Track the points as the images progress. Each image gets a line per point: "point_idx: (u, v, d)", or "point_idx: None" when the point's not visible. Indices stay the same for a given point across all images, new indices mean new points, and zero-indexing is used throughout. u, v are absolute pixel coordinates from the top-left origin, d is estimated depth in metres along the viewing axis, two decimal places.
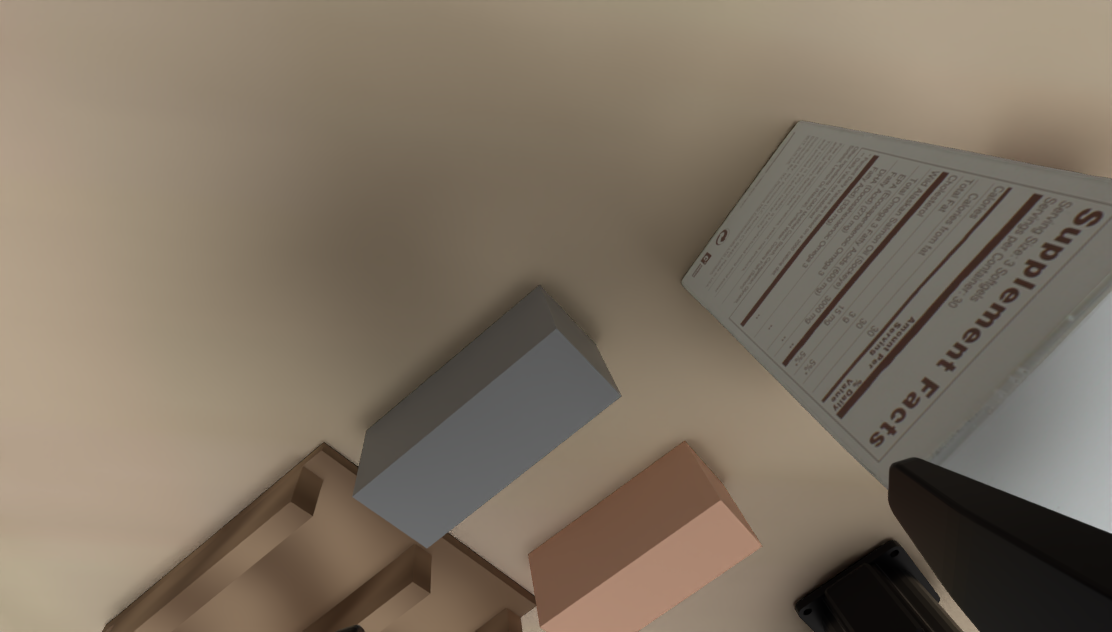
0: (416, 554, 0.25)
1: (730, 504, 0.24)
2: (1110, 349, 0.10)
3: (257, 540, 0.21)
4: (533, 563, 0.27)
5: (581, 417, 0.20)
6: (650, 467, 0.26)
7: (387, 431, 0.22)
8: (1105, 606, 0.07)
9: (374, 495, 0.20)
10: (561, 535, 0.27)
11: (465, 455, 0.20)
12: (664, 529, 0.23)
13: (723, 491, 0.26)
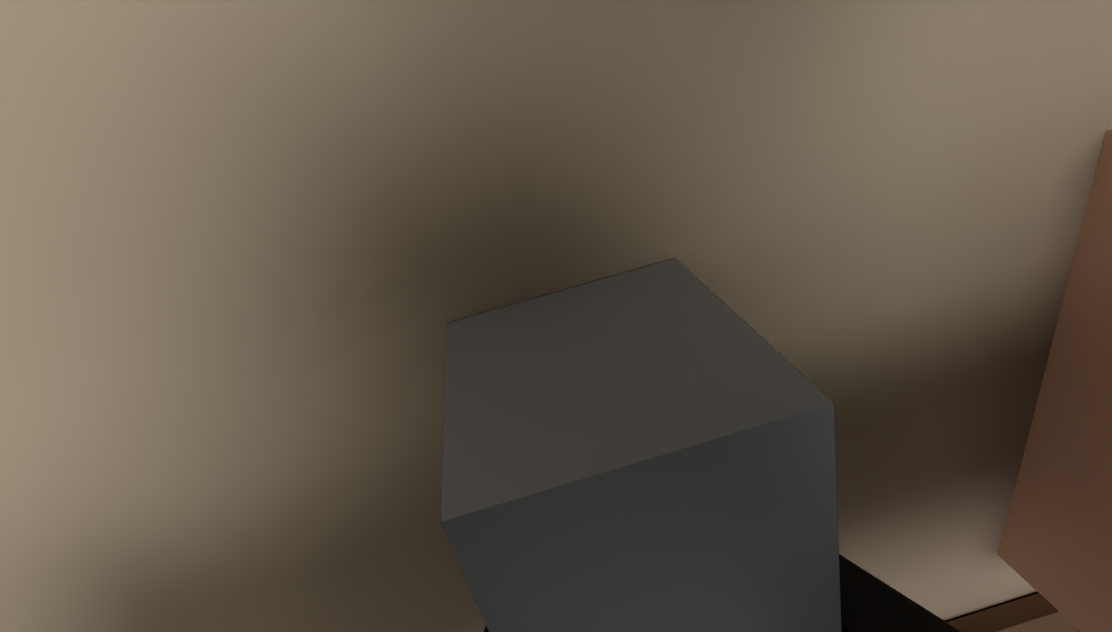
0: None
1: None
2: None
3: None
4: (1027, 573, 0.12)
5: (807, 538, 0.06)
6: (1081, 251, 0.10)
7: None
8: None
9: None
10: (1027, 496, 0.12)
11: None
12: None
13: None
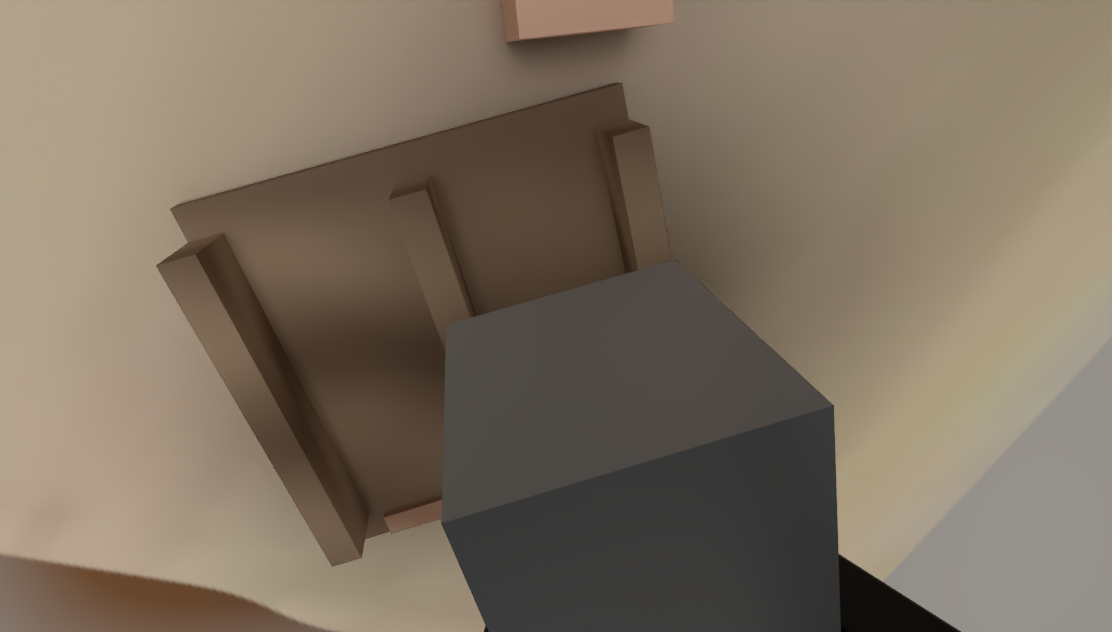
0: (399, 187, 0.16)
1: None
2: None
3: (211, 334, 0.16)
4: (506, 33, 0.16)
5: (807, 539, 0.06)
6: None
7: None
8: None
9: None
10: None
11: None
12: None
13: None
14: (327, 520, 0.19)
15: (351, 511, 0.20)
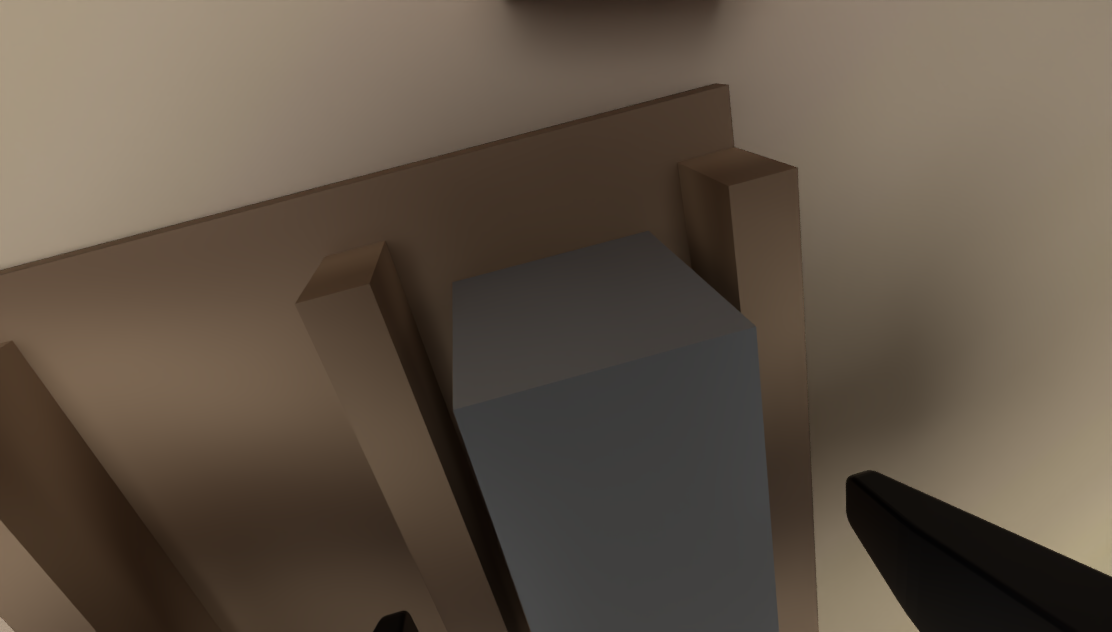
0: None
1: None
2: None
3: None
4: None
5: (740, 440, 0.07)
6: None
7: None
8: (1042, 626, 0.06)
9: None
10: None
11: None
12: None
13: None
14: None
15: None
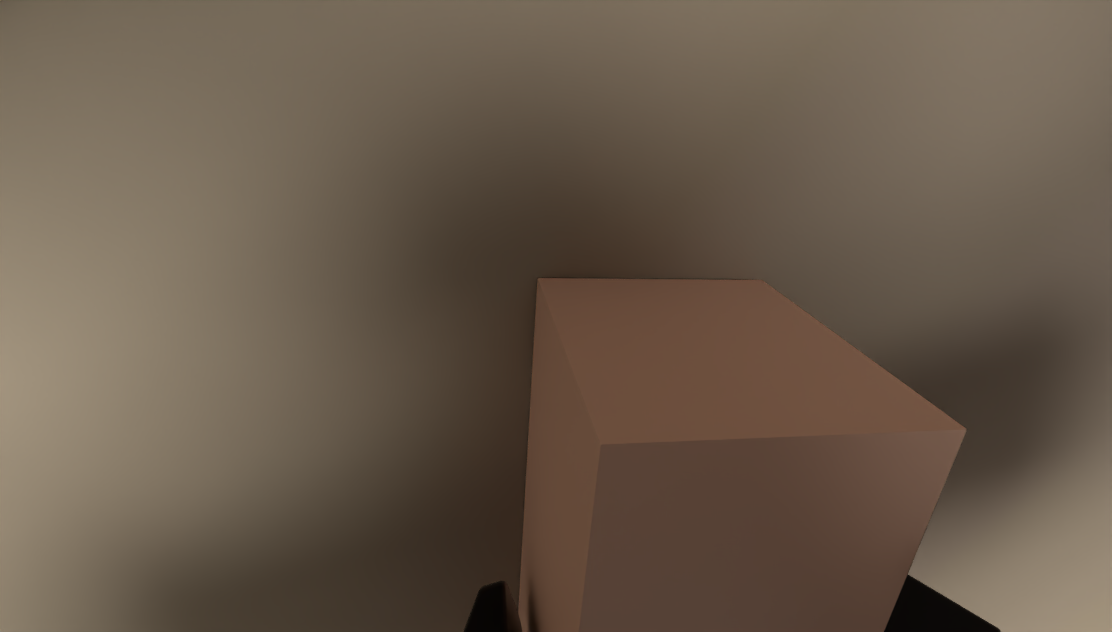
0: None
1: (745, 370, 0.06)
2: None
3: None
4: None
5: None
6: (533, 403, 0.09)
7: None
8: None
9: None
10: None
11: None
12: (569, 618, 0.06)
13: (731, 328, 0.07)
14: None
15: None
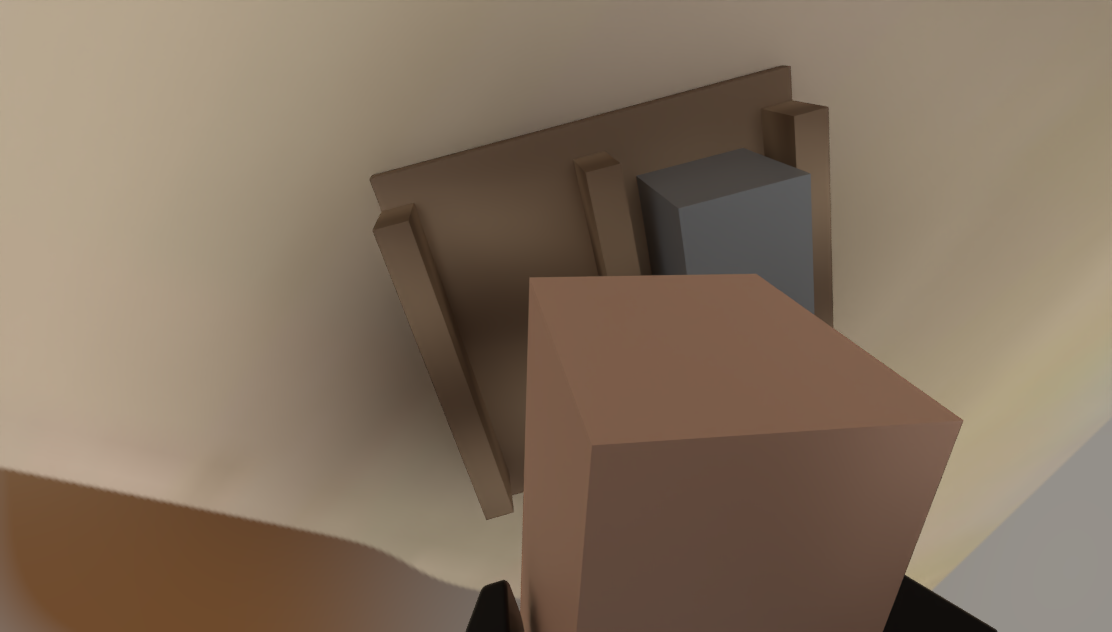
0: (581, 162, 0.17)
1: (738, 366, 0.06)
2: None
3: (411, 296, 0.17)
4: None
5: (800, 232, 0.16)
6: (528, 404, 0.09)
7: None
8: None
9: None
10: None
11: None
12: (566, 620, 0.06)
13: (725, 323, 0.07)
14: (488, 475, 0.20)
15: (503, 469, 0.21)
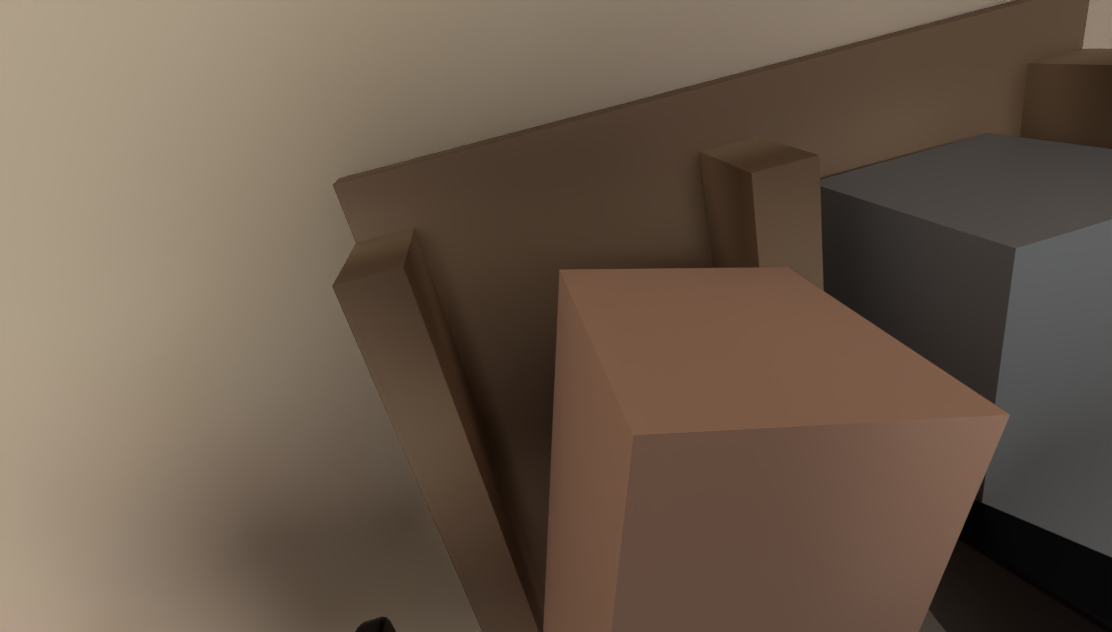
0: (718, 155, 0.10)
1: (776, 358, 0.06)
2: None
3: (409, 405, 0.09)
4: None
5: None
6: (556, 396, 0.09)
7: None
8: (1069, 617, 0.06)
9: None
10: None
11: None
12: (600, 612, 0.06)
13: (759, 316, 0.07)
14: None
15: None
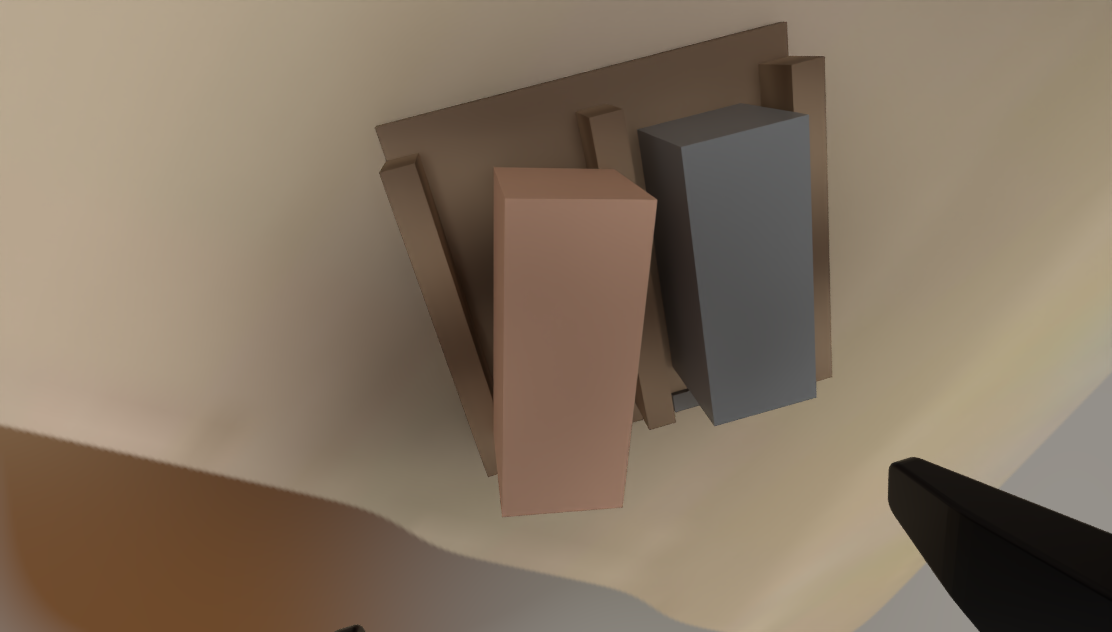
0: (583, 113, 0.18)
1: (577, 188, 0.14)
2: None
3: (416, 241, 0.17)
4: None
5: (799, 174, 0.16)
6: (494, 236, 0.17)
7: (683, 356, 0.21)
8: (1105, 606, 0.07)
9: (727, 408, 0.19)
10: (494, 392, 0.19)
11: (751, 312, 0.17)
12: (502, 297, 0.14)
13: (582, 180, 0.15)
14: (490, 430, 0.20)
15: None
